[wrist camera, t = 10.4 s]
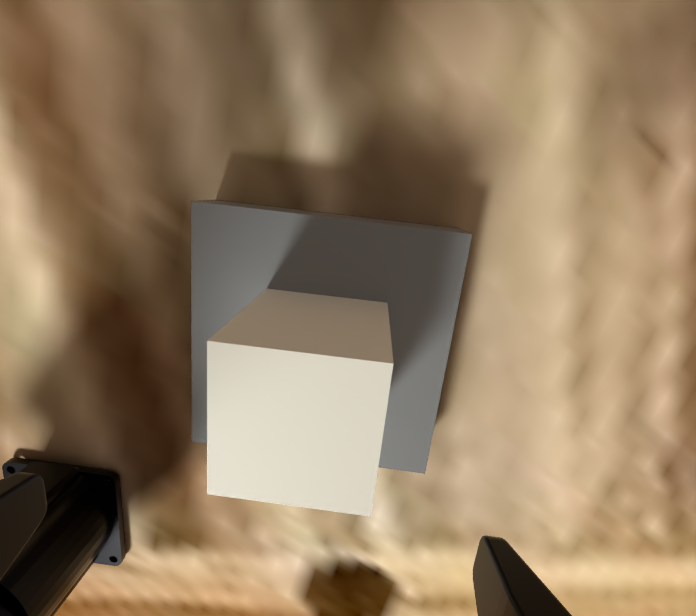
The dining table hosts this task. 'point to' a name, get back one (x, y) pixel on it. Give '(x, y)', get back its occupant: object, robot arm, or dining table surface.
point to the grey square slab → (340, 281)
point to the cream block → (299, 401)
